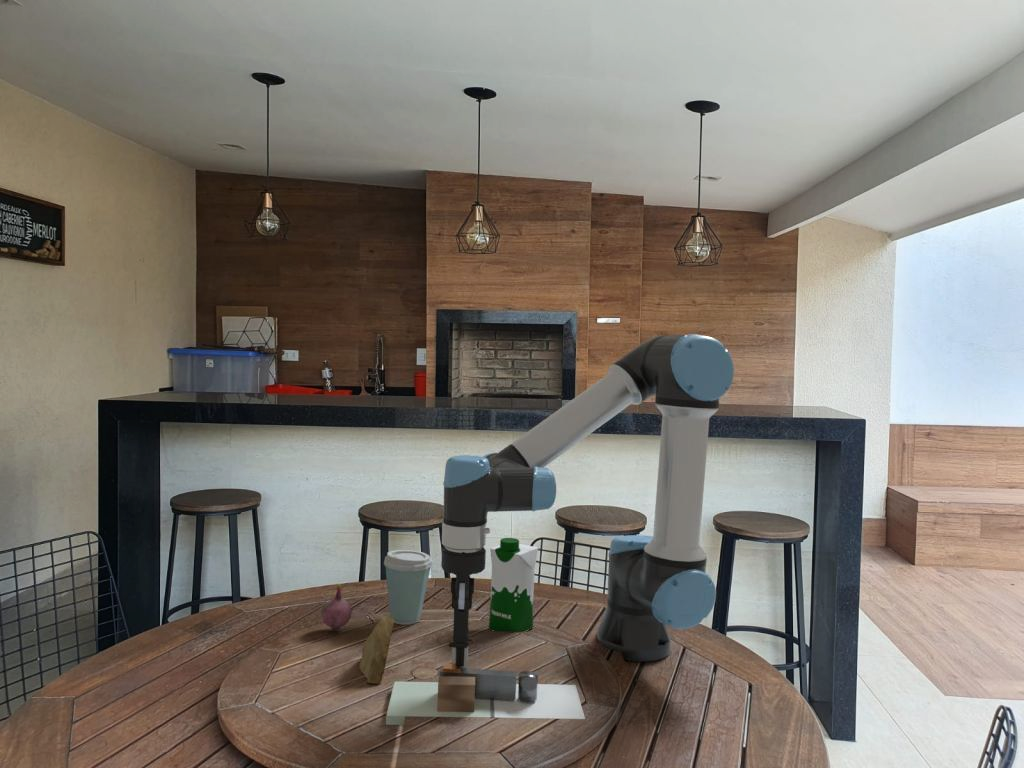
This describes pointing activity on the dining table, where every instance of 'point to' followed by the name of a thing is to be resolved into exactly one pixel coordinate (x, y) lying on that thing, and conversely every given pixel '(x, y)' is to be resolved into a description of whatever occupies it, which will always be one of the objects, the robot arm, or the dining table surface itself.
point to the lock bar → (497, 682)
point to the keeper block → (456, 694)
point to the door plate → (484, 704)
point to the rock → (376, 650)
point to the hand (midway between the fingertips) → (459, 681)
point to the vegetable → (336, 611)
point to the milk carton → (512, 586)
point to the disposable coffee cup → (406, 584)
